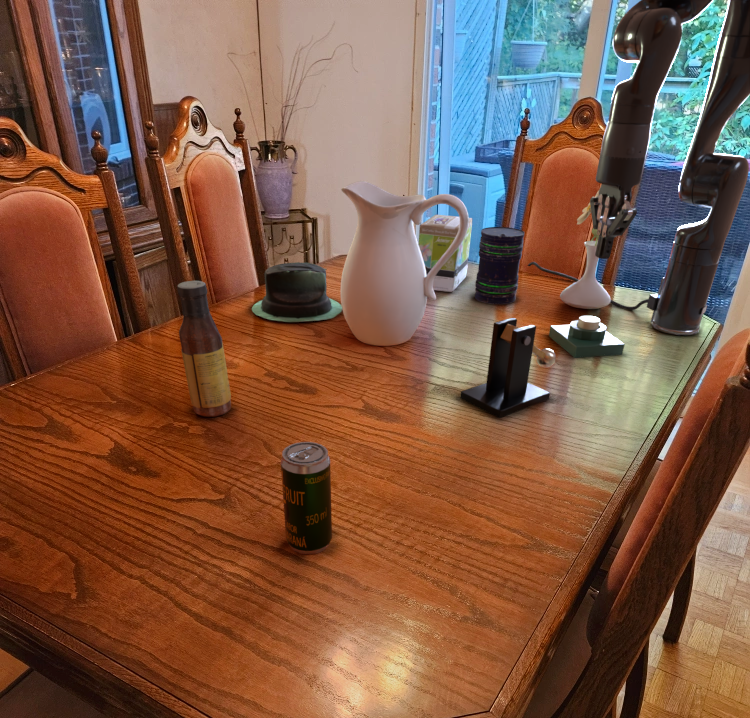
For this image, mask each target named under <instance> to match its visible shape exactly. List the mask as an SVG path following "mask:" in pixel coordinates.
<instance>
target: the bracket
mask: <svg viewBox="0 0 750 718" xmlns="http://www.w3.org/2000/svg"><path fill="white" fill-rule="evenodd" d="M517 323H518V319H517V318H515V317H509V318H507V319H502V320H499V321H496V322H493V325H492V326H493V327H492V334H491V341H490V342H491V343H490V351H489V352H490V353H489V360H488V366H487V367H488V368H487V376H486V382H485V383H481V384H479V385H476V386H473V387H470V388H466V389H464V390H461V391H460V395H459V396H460V397H459V399H460V400H462V401H465V402H467V403H469V404H471V405H472V406H474V407H476V408H477V409H480V410H482V411H484V412H486V413H488V414H490V415H492V416H494V417H495V418H497V419H501V418H504V417H506V416H510V415H512V414H514V413H517V412H519V411H522V410H524V409H527V408H530V407H533V406H535V405H538V404H541V403H543V402H546V401H548V400H550V396H551V392H550V391H548V390H546V389H543V388H541V387H539V386H536V385H534V384H532V383H529V382H528V381H529V376H530V368H531V363H532V357H533V353H532V351H533V345H534V344H535V338H536V333H537V332H536V331H537V326H536V325H534V324H529V325H526V326H522V327H518V329H515V330H513V331H512V338H511V344H509V343H508V342H506V341H505V340H503V339H502V338H501V335H502V333H503V331H504V329H505V327H506V326H507V324H510V325H513V326H516V327H517ZM534 346H535V345H534Z"/></svg>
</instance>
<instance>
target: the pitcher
mask: <svg viewBox="0 0 750 718" xmlns="http://www.w3.org/2000/svg"><path fill="white" fill-rule="evenodd" d="M340 190H341V192H342V193H343V194H344V195H345V196H346V197H347V198H348V199H349V200H350V201H351V202H352V205H354V207H355V210H356V213H357V224H356V230H355V233H354V236H353V239H352V242H351V244H350V247H349V249H348V251H347V255H346V258H345V261H344V264H343V268H342V273H341V279H340V290H339V291H340V304H341V306H342V313H343V317H344V319H345V321H346V323H347V325H348V327H349V329H350V331H351V333H352V334H353V335H354V337H355V338H356V339H357V340H358V341H359V342H361V343H364V344H366V345H371V346H377V347H379V346H381V347H391V346H397V345H402V344H403V343H406V342H408V341H410V340H411V339H412V337H413V335H414V334H415V332H417V330H418V328H419V326H420V324H421V323H422V320H423V318H424V315H425V312H426V308H427V302H428V299H429V300H432V301H435V300H437V295H436V293H435V290H433V280H434V277H435V276H436V274H437V273H438V271H439V270H440V269H441V267H442V266H443V265H444V264H445V263H446V262H447V260H448V259H449V258H450V257H451V256H452V255H453V254H454V252H455V251H456V250H457V249H458V247H459V246H460V244H461V243H462V241H463V240H464V238H465V236H466V233H467V230H468V224H469V218H470V217H469V212H468V209H467V206H466V205H465V204H464V201H462V200H461V199H460V198H459V197H457V196H456V195H453V194H449V193H440V194H436V195H433V196H431V197H429V198H426V196H425V195H424V194H413V195H407V196H406V195H403V196H401V195H398V194H397V195H396V194H394V193H391V192H389V191H387V190H385V189H383V188H381V187H380V186H377V185H375V184H373V183H372V182H368V181H367V180H360V181H355V182H351V183H349V184H347V185H346V186H343V187H341V189H340ZM437 205H447V206H450V207H451V208H453V209H454V210H455V211H456V212H457V214H458V217H460V226H459V230H458V233H457V235H456V237H455V239H454V241H453V242H452V244H451V245H450V247H449V248H448V249H447V251H446V252H445V253H444V254H443V255H442V257H441V258H440V259H439V260H438V262H437V263H436V264H435V265H434V266H433V268H432V269H431V270H430V272H429V273H428V274H427V275H426V269H425V265H424V261H423V257H422V254H421V251H420V248H419V245H418V244H419V241H418V238H417V236H416V232H415V231H416V230H415V227H414V226H415V225H416V226H420V225H421V223H422V222H421V221H422V217H423V215H424V213H425V212H426V211H428V210H429V209H431V208H432V207H434V206H437Z"/></svg>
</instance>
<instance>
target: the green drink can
mask: <svg viewBox="0 0 750 718" xmlns="http://www.w3.org/2000/svg"><path fill="white" fill-rule="evenodd" d="M281 452H282V454H281V459H280V474H281V489H282V501H283V515H284V529H285V541H286V542H287V545H288V546H289V548H290V549H291V550H292V551H294V552H295V553H298V554H301V555H315V554H319V553H321V552H323V551H325V550H326V549H327V548H328V547H329V545H330V543H331V542H332V540H333V520H332V518H333V517H332V481H331V480H332V479H331V477H332V476H331V474H332V473H331V458H330V456H329V451H328V448H327V447H326V446H324V445H323V444H321V443H318V442H313V441H300V442H295V443H292V444H289V445H287V446H286V447H284V449H283V450H282V451H281Z"/></svg>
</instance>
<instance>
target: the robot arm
mask: <svg viewBox="0 0 750 718" xmlns="http://www.w3.org/2000/svg"><path fill="white" fill-rule="evenodd" d="M713 2H714V0H639V1H638V2H637V3H636V4H634V5H633V6H632V7H630V8H629V10H628V11H627V12H626V13H624V15H623V16H622V17H621V18H620V21H618V24H617V26H616V28H615V31H614V34H613V38H612V48H613V52H614V54H615V55H616V57H617V58H618V59H620V60H621V61H623V62H626V63H637V64H636V67H635V69H634V72H633V74H632V75H631V77H630V78H629V79H626V80H623V81H620V82H619V83H618V84H617V85H615V88H614V90H613V93H612V97H611V103H610V108H609V113H608V119H607V123H606V127H605V130H604V134H603V138H602V141H601V142H602V143H601V148H600V153H599V158H598V164H597V169H596V174H595V181H596V182H597V183H598V184H600V187H599V189H598V191H599V195H598V196H597V197H595V196H594V197H593V196H592V197H591V198H589V199H590V200H589V203H590V206H591V213H590V215H591V220H592V229H594V230H595V229H597V235H599V238H598V240H597V241H598V243H597V248H596V253H595V256H596V257H598V258H599V259H600V260H606V259H610V257H611V254H612V250H613V245H614V241H615V238H616V237H620V236H621V237H622V236H623V235H624V233H625V232H626V230H628V228H629V226H630V224H631V223H632V222H633V220H634V219H635V218H636V216H637V214H638V213H637V212H638V209H637V208H632V206H631V202H632V198H633V193H632V192H633V188H634V186H637V185H639V184H640V183H641V182H642V181H641V180H642V176H643V172H644V168H645V167H644V166H645V164H646V163H645V162H646V158H647V153H648V149H649V144H650V140H651V130H652V123H653V119H654V113H655V109H656V105H657V100H658V96H659V93H660V91H661V89H662V87H663V85H664V83H665V81H666V78H667V76H668V74H669V71H671V70H670V69H671V68H672V65H673V63H674V61H675V59H676V56H677V54H678V52H679V49H680V45H681V42H682V37H683V24H686V23H689V22H691V21H693V20H694V19H696V18H698V17H699V16H700V15H701V14H702V13H703V12H704V11H705V10H706V9H707V8H708V7H709V6H710V5H711V4H712V3H713ZM708 80H709V81H708V85H707V88H706V93H705V97H704V101H703V104H702V109H701V112H700V115H699V119H698V122H697V126H696V127H695V132H694V134H693V138H692V140H691V143H690V147H689V149H688V152H687V156H686V159H685V161H684V164H683V168H682V171H681V175H680V180H679V185H678V198H679V200H680V202H681V203H683V204H685V205H688V206H694V207H700V208H705V209H710V211H709V213H708V216H707V217H706V218H705V219H703V220H701V221H698V222H694V223H688V224H684V225H681V226H679V227H678V228H677V230H676V232H675V236H674V239H673V243H672V247H671V251H670V255H669V258H668V262H667V267H666V270H665V274H664V277H662V278H661V280H660V284H659V288H658V291H657V293H652V294H649V296H648V298H647V299H643V300H641V301H640V302H638V303H637V304H636V305H635V306H634V305H633V306H628V305H623V304H621V303H618V302H616V301H615V300H613V299H611V302H610V303H609V304H612V305H614V306H616V307H617V308H621V309H624V310H627V311H635V310H637V309H639V308H640V307H641V306H642V305H644V304H646V308H648V309H649V310H651V311H652V315H651V318H650V322H651V326H652V327H653V329H655V330H656V331H659V332H661V333H665V334H669V335H674V336H691V335H692V336H693V335H696V334H698V333H699V332H700V328H701V323H702V319H703V316H704V314H705V313H706V311H707V308H708V305H707V303H708V299H709V296H710V294H711V290H712V286H713V283H714V279H715V276H716V273H717V269H718V266H719V263H720V259H721V257H722V253H723V249H724V247H725V243H726V239H727V237H728V236H729V233H730V231H731V228H732V225H733V221H734V218H735V216H736V214H737V210H738V208H739V205H740V204H739V203H740V201H741V199H742V196H743V193H744V190H745V188H746V184H747V181H748V177H749V172H750V165H749V161H748V159H747V158H746V157H744V156H741V155H733V154H726V153H716V152H715V149H716V146H717V143H718V140H719V138H720V136H721V133H722V132H723V130H724V128H725V126H726V125H727V123H728V121H729V120H730V119H731V117H732V116H733V114H734V113H735V112H736V111H737V110H738V109H739V108H740V106H741V105H742V104H743V103H744V102H745V101H747V99H748V98H749V96H750V0H728V5H727V9H726V12H725V17H724V21H723V24H722V27H721V31H720V34H719V38H718V41H717V45H716V50H715V53H714V58H713V63H712V66H711V72H710V76H709V79H708ZM531 266H535V267H536V268H537V269H538V270H540V271H541V272H544V273H547V274H551V275H554V276H559V277H562V278H565V279H568V280H570V281H573V282H574V283H575V282H577V281H578V280H579V279H578V278H576V277H574V276H571V275H568V274H565V273H561V272H558V271H554V270H550V269H547V268H544V267H542V266H541V265H540V264H538V263H537V262H535V261H531V262H529V263H528V264H527V267H531Z"/></svg>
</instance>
